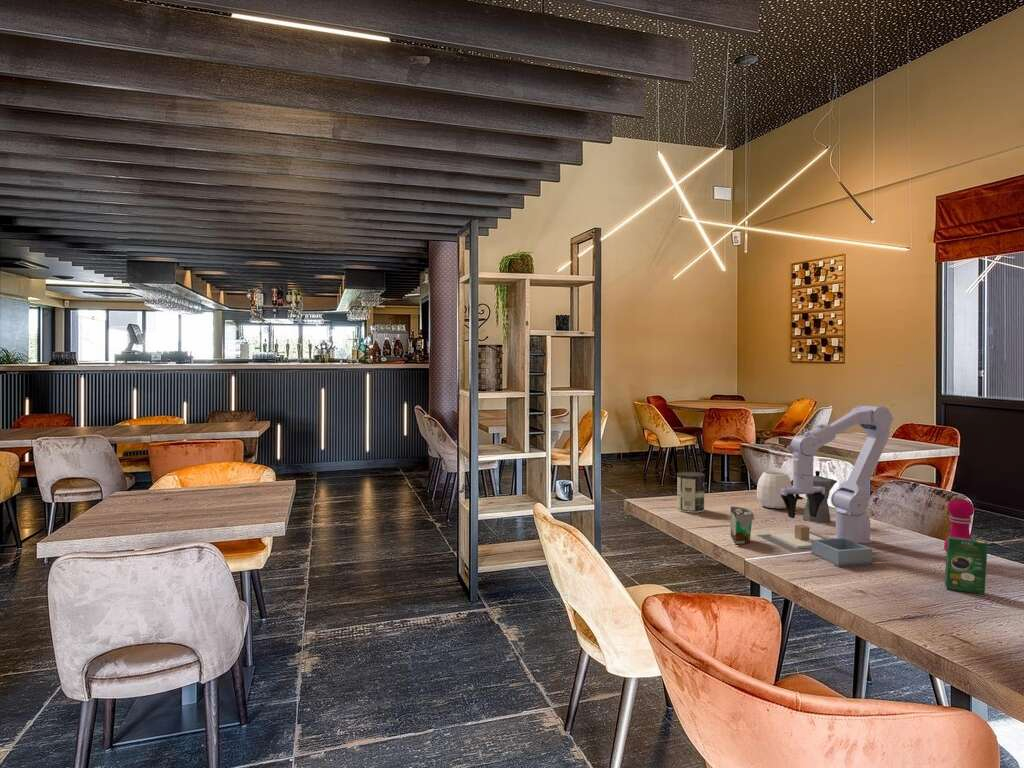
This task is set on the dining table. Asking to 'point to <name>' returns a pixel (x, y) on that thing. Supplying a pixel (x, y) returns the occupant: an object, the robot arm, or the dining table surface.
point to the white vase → (772, 488)
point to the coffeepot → (823, 509)
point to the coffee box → (966, 565)
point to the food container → (741, 525)
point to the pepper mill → (960, 518)
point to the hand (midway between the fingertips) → (802, 516)
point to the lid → (797, 537)
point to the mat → (786, 546)
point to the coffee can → (690, 492)
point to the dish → (842, 552)
